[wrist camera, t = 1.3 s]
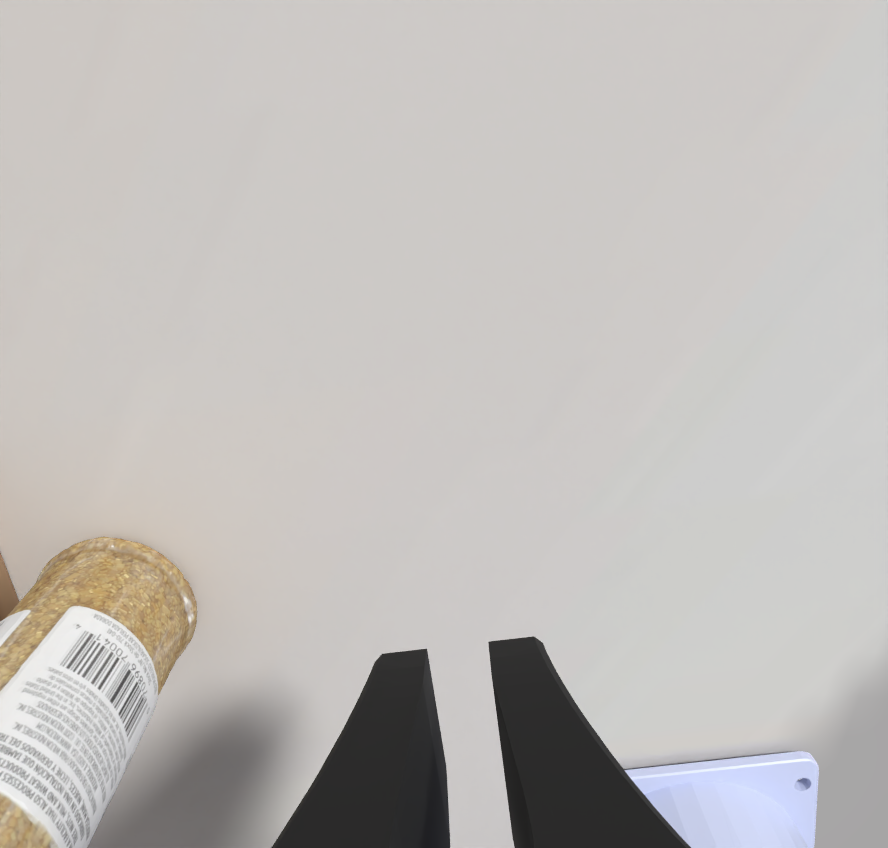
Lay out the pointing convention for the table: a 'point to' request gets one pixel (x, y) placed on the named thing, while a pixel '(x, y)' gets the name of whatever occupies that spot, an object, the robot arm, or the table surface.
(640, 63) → the table surface
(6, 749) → the sprinkles bottle
